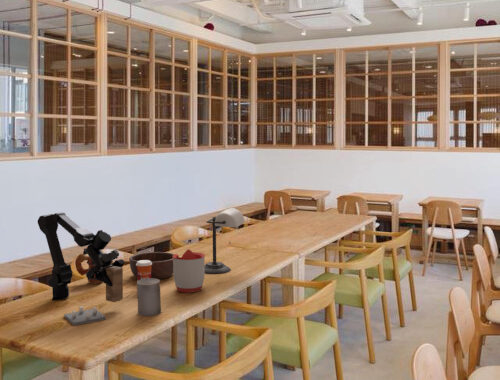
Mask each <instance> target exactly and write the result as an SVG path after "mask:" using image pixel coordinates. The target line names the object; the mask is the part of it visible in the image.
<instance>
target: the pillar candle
mask: <svg viewBox="0 0 500 380" xmlns="http://www.w3.org/2000/svg"><path fill="white" fill-rule="evenodd" d="M136 293H137V295H136V296H137V314H138V315H140V316H143V317H146V316H148V317H149V316H150V317H151V316H156V315H159V314H160V313H162V304H161V303H162V302H161V300H162V299H161V279H155V278H146V279H141V280H138V279H137V281H136Z"/></svg>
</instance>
